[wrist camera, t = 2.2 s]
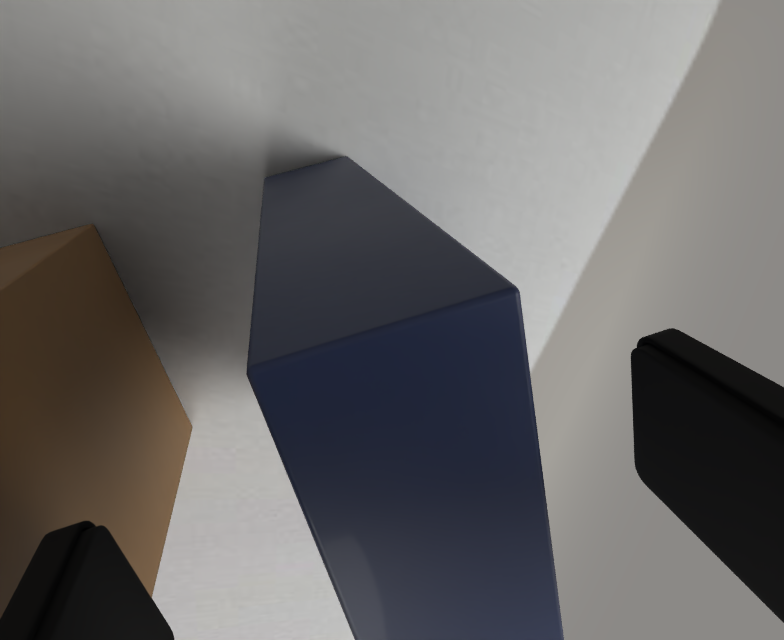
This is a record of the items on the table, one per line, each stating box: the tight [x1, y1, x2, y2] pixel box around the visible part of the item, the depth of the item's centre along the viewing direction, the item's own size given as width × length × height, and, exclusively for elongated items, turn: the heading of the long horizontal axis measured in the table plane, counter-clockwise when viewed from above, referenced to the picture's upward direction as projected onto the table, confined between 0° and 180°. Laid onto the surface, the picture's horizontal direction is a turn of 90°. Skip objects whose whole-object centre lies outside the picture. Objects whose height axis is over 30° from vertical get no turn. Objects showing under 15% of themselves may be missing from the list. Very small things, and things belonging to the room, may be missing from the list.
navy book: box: [247, 156, 564, 640], centre depth 13 cm, size 8×3×13 cm, turn 13°
